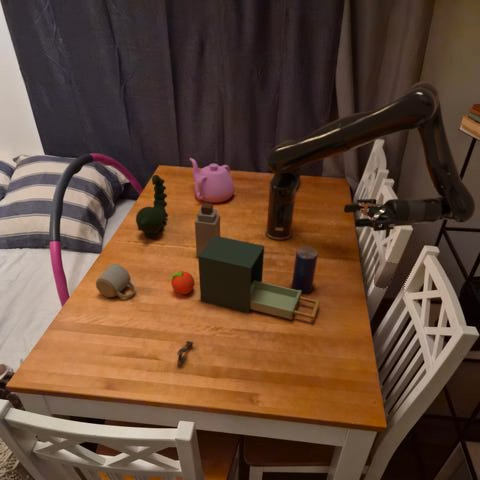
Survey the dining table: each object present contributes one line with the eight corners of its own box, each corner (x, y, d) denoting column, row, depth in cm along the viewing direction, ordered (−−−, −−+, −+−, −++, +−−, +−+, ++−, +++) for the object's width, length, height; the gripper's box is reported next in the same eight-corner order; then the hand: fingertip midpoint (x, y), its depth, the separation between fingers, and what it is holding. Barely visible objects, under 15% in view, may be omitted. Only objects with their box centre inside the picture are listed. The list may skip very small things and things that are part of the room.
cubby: (261, 289, 126) (264, 245, 115) (248, 313, 118) (250, 268, 107) (216, 279, 130) (215, 235, 119) (200, 301, 122) (198, 256, 111)
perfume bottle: (215, 260, 138) (214, 211, 126) (196, 257, 139) (193, 209, 127) (220, 249, 143) (219, 202, 131) (202, 247, 144) (199, 199, 132)
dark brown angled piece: (173, 367, 101) (175, 350, 99) (185, 355, 108) (186, 339, 107) (180, 368, 100) (182, 351, 99) (191, 356, 108) (193, 341, 106)
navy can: (294, 279, 131) (299, 244, 122) (313, 284, 129) (320, 249, 120) (289, 290, 126) (293, 255, 117) (309, 295, 125) (315, 260, 116)
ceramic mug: (96, 295, 122) (91, 275, 117) (111, 280, 128) (107, 260, 123) (127, 304, 120) (123, 283, 115) (141, 288, 126) (137, 268, 120)
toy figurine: (152, 217, 163) (132, 245, 143) (146, 170, 152) (124, 192, 132) (175, 219, 162) (158, 247, 142) (171, 171, 151) (152, 194, 131)
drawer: (320, 303, 120) (321, 295, 118) (312, 325, 113) (314, 317, 111) (253, 287, 126) (253, 279, 124) (242, 307, 118) (242, 299, 116)
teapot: (207, 180, 187) (205, 150, 178) (245, 193, 178) (246, 161, 169) (174, 197, 174) (171, 165, 164) (214, 211, 164) (213, 178, 155)
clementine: (169, 300, 122) (167, 281, 117) (168, 286, 127) (165, 267, 122) (196, 297, 123) (194, 278, 118) (193, 283, 128) (192, 265, 123)
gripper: (396, 189, 118) (343, 192, 116) (420, 211, 108) (362, 215, 105) (389, 212, 123) (338, 216, 121) (411, 236, 113) (356, 240, 110)
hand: (350, 215), depth 113 cm, fingers open, 8 cm apart
